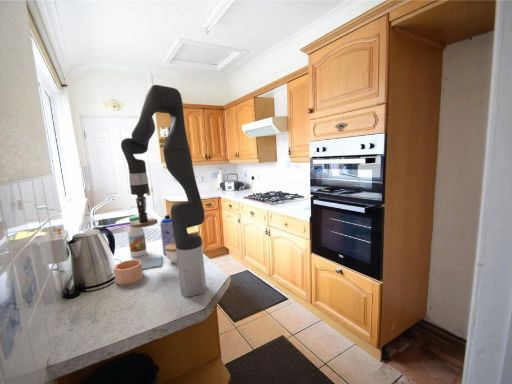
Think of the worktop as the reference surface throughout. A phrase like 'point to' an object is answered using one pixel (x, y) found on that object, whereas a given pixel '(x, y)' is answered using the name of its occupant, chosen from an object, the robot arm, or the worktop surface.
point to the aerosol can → (166, 232)
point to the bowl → (128, 271)
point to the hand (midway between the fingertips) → (143, 220)
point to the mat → (152, 263)
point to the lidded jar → (171, 252)
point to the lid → (143, 224)
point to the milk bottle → (136, 239)
